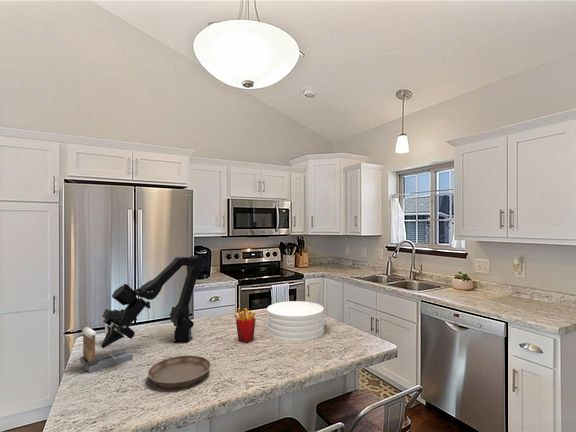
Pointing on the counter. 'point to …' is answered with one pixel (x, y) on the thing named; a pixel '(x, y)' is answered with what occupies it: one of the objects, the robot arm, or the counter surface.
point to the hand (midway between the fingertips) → (102, 347)
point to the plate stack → (295, 321)
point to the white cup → (115, 341)
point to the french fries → (245, 326)
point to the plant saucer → (179, 371)
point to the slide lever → (88, 347)
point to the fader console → (110, 360)
